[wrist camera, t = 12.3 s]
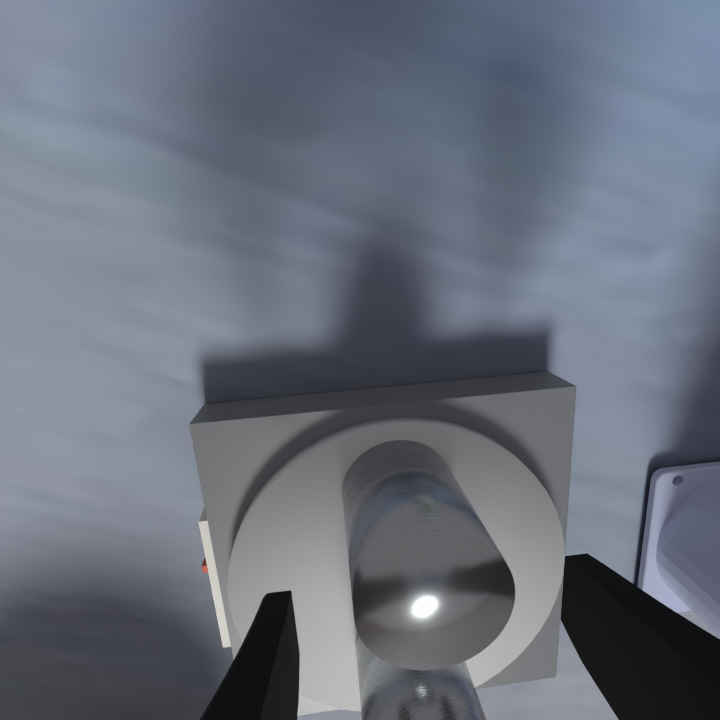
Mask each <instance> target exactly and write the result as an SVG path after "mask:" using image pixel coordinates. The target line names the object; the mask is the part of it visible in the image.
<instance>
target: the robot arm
mask: <svg viewBox="0 0 720 720" xmlns="http://www.w3.org/2000/svg"><path fill="white" fill-rule="evenodd" d="M674 478H675V479H674ZM673 479H674V480H673ZM684 611H692V612H693V613H694V614H696V615H697V616H698V617H699V618H700V619H701V620H702V621H703V622H704V623H705V624H706V625H707V626H708V627H709V628H710V629H711V630H712V631H713V632H714V633H715V634H716V635H717V636H718V637H719V638H720V461H719V462H710V463H701V464H692V465H684V466H675V467H666V468H661V469H658V470H656V471H655V472H654V473H653V474H652V477H651V482H650V490H649V498H648V506H647V514H646V522H645V530H644V538H643V546H642V554H641V562H640V570H639V578H638V585H637V586H635V585H634V584H632V583H631V582H629V581H628V580H626V579H625V578H624V577H622V576H621V575H619V574H618V573H616V572H615V571H613V570H612V569H610V568H609V567H607V566H606V565H604V564H603V563H601V562H600V561H598V560H597V559H595V558H593V557H592V556H590V555H589V554H580V555H572V556H565V564H564V578H563V593H562V607H561V621H562V623H563V625H564V627H565V629H566V631H567V633H568V635H569V637H570V639H571V641H572V643H573V645H574V647H575V649H576V651H577V653H578V655H579V657H580V659H581V661H582V662H583V664H584V666H585V667H586V669H587V670H588V672H589V674H590V675H591V677H592V678H593V680H594V682H595V683H596V685H597V686H598V688H599V689H600V691H601V693H602V694H603V696H604V697H605V699H606V700H607V702H608V704H609V705H610V707H611V708H612V710H613V711H614V713H615V714H616V716H617V717H618V719H619V720H720V639H718V638H716V637H715V636H713V635H711V634H710V633H708V632H706V631H705V630H703V629H702V628H700V627H698V626H697V625H695V624H694V623H692V622H690V621H689V620H687V619H686V618H684V617H682V616H681V615H679V614H678V613H677V612H684ZM299 667H300V652H299V645H298V637H297V630H296V622H295V615H294V607H293V600H292V592H291V590H289V591H280V592H272V593H267V594H266V595H265V596H264V597H263V599H262V601H261V604H260V606H259V609H258V611H257V613H256V616H255V618H254V620H253V622H252V624H251V627H250V629H249V631H248V633H247V635H246V637H245V639H244V641H243V643H242V645H241V647H240V649H239V651H238V653H237V655H236V657H235V659H234V660H233V662H232V664H231V666H230V668H229V670H228V672H227V674H226V676H225V678H224V679H223V681H222V683H221V685H220V686H219V688H218V690H217V692H216V693H215V695H214V697H213V698H212V700H211V702H210V704H209V705H208V707H207V709H206V710H205V712H204V714H203V716H202V717H201V719H200V720H297V714H298V704H299Z"/></svg>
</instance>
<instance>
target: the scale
mask: <svg viewBox="0 0 720 720" xmlns="http://www.w3.org/2000/svg"><path fill="white" fill-rule="evenodd" d="M575 398H576V386H575V385H573V384H571V383H569V382H567V381H565V380H563V379H561V378H559V377H558V376H556V375H554V374H552V373H550V372H548V371H546V372H536V373H525V374H515V375H504V376H494V377H483V378H472V379H462V380H451V381H441V382H430V383H420V384H409V385H398V386H388V387H377V388H367V389H356V390H346V391H335V392H324V393H314V394H303V395H293V396H282V397H272V398H261V399H250V400H240V401H229V402H219V403H208V404H204V406H203V407H202V408H201V410H200V411H199V412H198V413H197V415H196V416H195V417H194V419H193V420H192V421H191V423H190V424H189V425H190V430H191V436H192V441H193V446H194V452H195V457H196V462H197V468H198V473H199V478H200V484H201V489H202V494H203V500H204V505H205V509H204V511H203V513H202V515H201V518H200V520H199V527H200V532H201V537H202V542H203V547H204V552H205V559H204V561H203V564H202V571H203V573H206V572H208V573H209V578H210V583H211V589H212V594H213V599H214V604H215V609H216V614H217V619H218V625H219V630H220V635H221V640H222V645H223V648H225V647H231V649H232V654H233V660H234V659H235V657H236V655H237V653H238V651H239V649H240V647H241V645H242V643H243V641H244V639H245V637H246V635H247V633H248V631H249V629H250V627H251V624H252V622H253V620H254V618H255V616H256V613H257V611H258V609H259V606H260V604H261V601H262V599H263V597H264V596H265V595H266V594H267V593H272V592H280V591H289V590H291V592H292V600H293V607H294V615H295V622H296V630H297V637H298V645H299V652H300V667H299V704H298V714H297V716H298V715H305V714H312V713H318V712H325V711H332V710H338V709H345V710H351V711H361V702H360V691H359V680H358V669H357V658H356V638H357V634H358V632H357V630H356V626H355V623H354V614H353V604H352V593H351V583H350V573H349V562H348V552H347V542H346V531H345V521H344V511H343V501H342V487H343V482H344V479H345V476H346V474H347V472H348V470H349V468H350V467H351V465H352V464H353V462H354V461H355V460H356V459H357V458H358V457H359V456H360V455H361V454H363V453H364V452H365V451H367V450H368V449H370V448H372V447H374V446H376V445H378V444H381V443H383V442H387V441H392V440H411V441H416V442H420V443H422V444H425V445H427V446H429V447H430V448H432V449H433V450H435V451H436V452H437V453H438V454H439V455H440V456H441V457H442V458H443V459H444V461H445V462H446V464H447V465H448V467H449V469H450V470H451V472H452V474H453V475H454V477H455V478H456V480H457V482H458V483H459V485H460V487H461V488H462V490H463V492H464V493H465V495H466V497H467V498H468V500H469V502H470V503H471V505H472V507H473V508H474V510H475V512H476V513H477V515H478V517H479V518H480V520H481V522H482V523H483V525H484V527H485V528H486V530H487V532H488V533H489V535H490V537H491V538H492V540H493V541H494V543H495V545H496V546H497V548H498V550H499V551H500V553H501V555H502V556H503V558H504V560H505V561H506V563H507V565H508V567H509V569H510V571H511V573H512V576H513V579H514V584H515V602H514V607H513V611H512V614H511V616H510V618H509V621H508V623H507V624H506V626H505V628H504V629H503V631H502V632H501V633H500V635H499V636H498V637H497V638H496V639H495V640H494V641H493V642H492V643H491V644H490V645H489V646H488V647H487V648H485V649H484V650H483V651H482V652H480V653H479V654H477V655H475V656H474V657H472V658H470V659H468V660H466V661H465V662H466V664H467V667H468V670H469V673H470V676H471V679H472V681H473V684H474V687H475V689H479V688H485V687H492V686H499V685H505V684H512V683H519V682H526V681H532V680H539V679H546V678H552V677H556V671H557V657H558V642H559V628H560V614H561V599H562V585H563V570H564V556H565V542H566V527H567V513H568V499H569V484H570V470H571V455H572V441H573V427H574V412H575Z"/></svg>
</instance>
